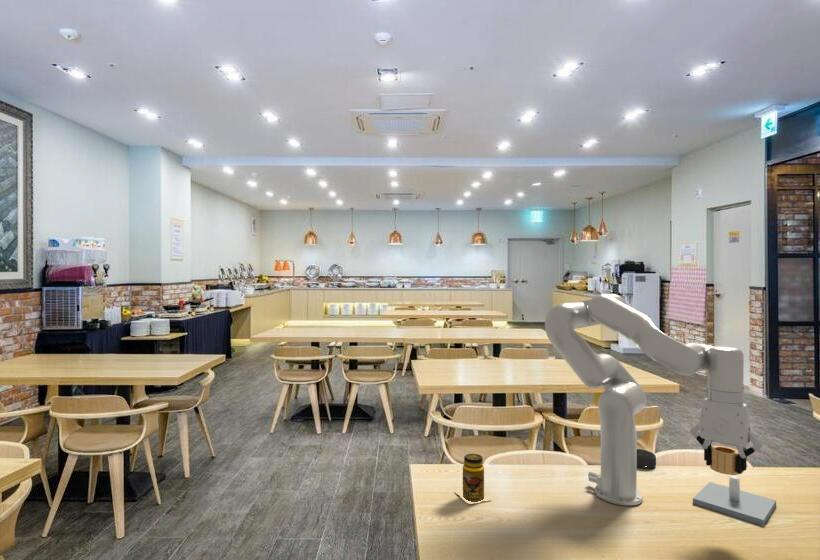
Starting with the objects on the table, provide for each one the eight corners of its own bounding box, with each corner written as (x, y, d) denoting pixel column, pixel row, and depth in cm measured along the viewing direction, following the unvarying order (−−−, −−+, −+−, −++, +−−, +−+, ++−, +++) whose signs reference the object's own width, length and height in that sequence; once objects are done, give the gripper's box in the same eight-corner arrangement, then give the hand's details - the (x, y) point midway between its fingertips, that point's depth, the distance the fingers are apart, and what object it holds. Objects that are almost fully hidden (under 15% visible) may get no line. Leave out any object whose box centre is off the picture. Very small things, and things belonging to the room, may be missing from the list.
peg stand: (692, 503, 129) (692, 476, 129) (709, 486, 140) (709, 462, 140) (763, 525, 117) (763, 496, 117) (776, 505, 128) (776, 478, 128)
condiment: (468, 506, 127) (468, 462, 127) (454, 493, 135) (454, 452, 135) (491, 501, 130) (491, 458, 130) (475, 488, 138) (475, 448, 138)
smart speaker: (623, 465, 157) (623, 453, 157) (630, 457, 164) (630, 446, 164) (652, 472, 151) (652, 459, 151) (658, 464, 158) (658, 452, 158)
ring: (707, 469, 116) (707, 449, 116) (714, 463, 120) (714, 444, 120) (735, 477, 111) (735, 456, 111) (742, 470, 115) (742, 450, 115)
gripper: (681, 392, 120) (681, 461, 120) (763, 406, 107) (763, 483, 107) (691, 388, 125) (691, 454, 124) (771, 400, 112) (771, 475, 111)
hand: (724, 467), depth 116 cm, fingers closed on ring, 6 cm apart
